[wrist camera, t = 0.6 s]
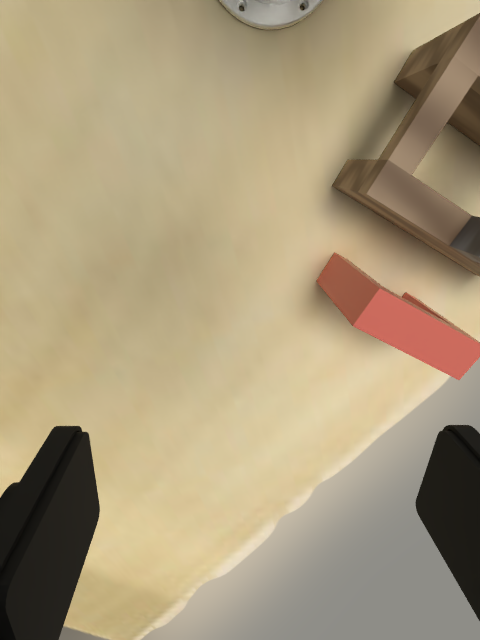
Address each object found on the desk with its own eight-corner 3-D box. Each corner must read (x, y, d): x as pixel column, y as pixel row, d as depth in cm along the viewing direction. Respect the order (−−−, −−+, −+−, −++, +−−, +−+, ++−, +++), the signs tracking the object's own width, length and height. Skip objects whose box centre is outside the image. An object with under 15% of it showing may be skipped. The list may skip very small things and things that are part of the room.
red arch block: (334, 252, 43) (379, 288, 31) (417, 299, 46) (487, 348, 34) (316, 280, 44) (352, 325, 32) (398, 324, 47) (458, 380, 35)
